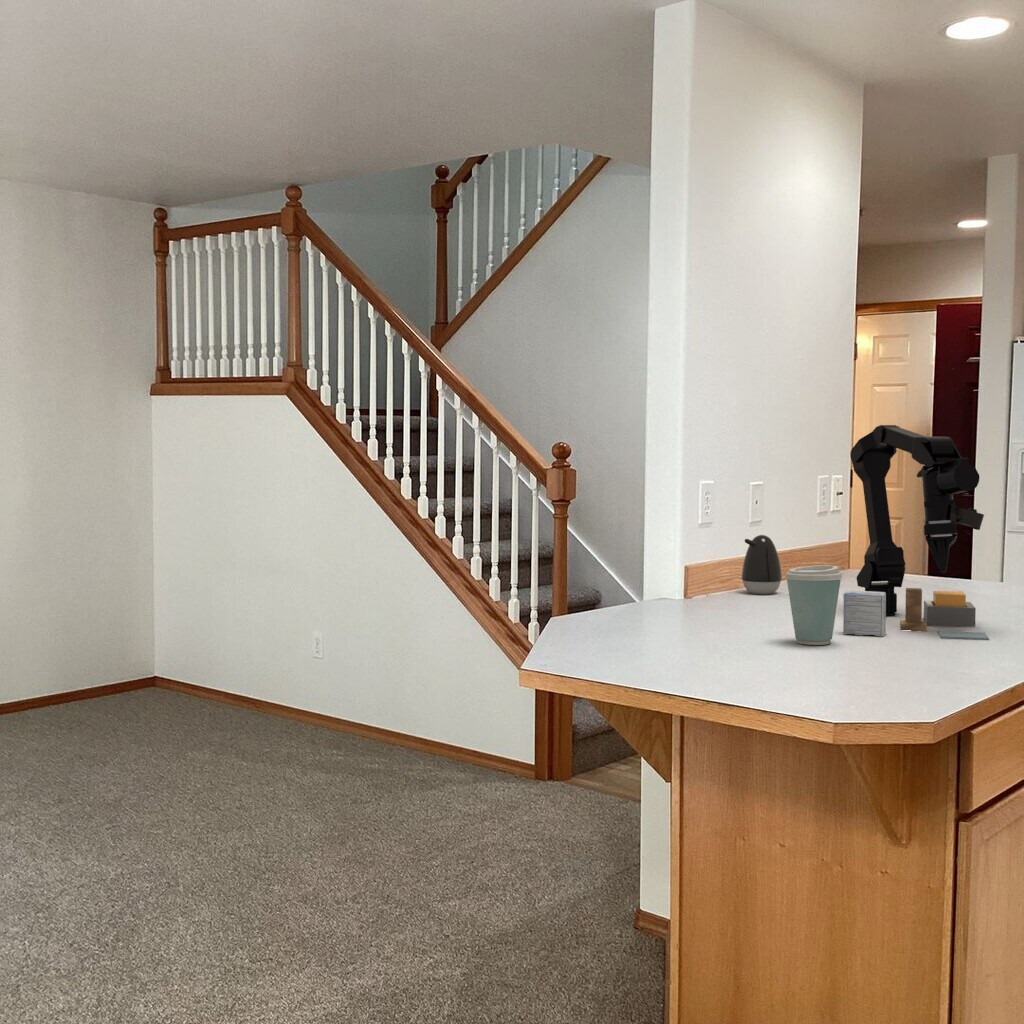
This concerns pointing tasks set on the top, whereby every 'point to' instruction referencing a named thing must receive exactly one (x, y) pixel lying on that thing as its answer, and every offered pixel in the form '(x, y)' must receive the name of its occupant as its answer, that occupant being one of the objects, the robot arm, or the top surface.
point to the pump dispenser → (761, 566)
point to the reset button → (949, 598)
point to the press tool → (913, 611)
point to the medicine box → (864, 613)
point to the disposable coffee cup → (814, 602)
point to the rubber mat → (963, 635)
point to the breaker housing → (949, 615)
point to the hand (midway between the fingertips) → (943, 571)
